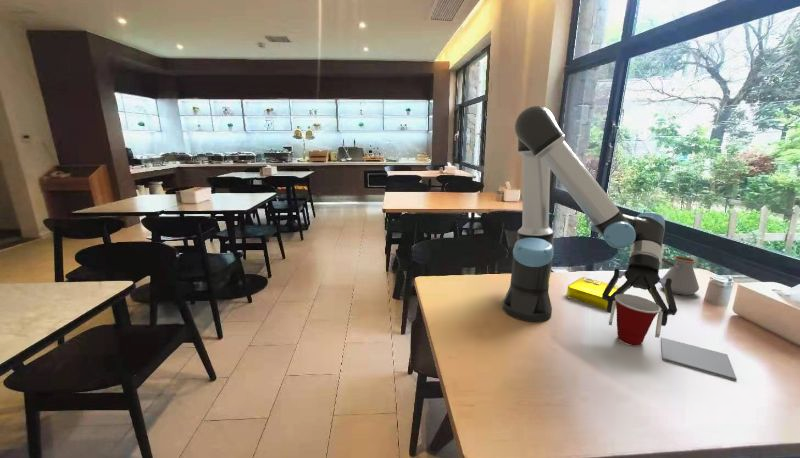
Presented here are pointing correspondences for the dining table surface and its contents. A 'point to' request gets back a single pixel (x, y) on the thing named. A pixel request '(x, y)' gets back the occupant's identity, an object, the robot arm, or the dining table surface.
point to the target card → (697, 358)
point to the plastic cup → (634, 317)
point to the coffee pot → (682, 276)
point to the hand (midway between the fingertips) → (633, 329)
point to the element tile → (589, 291)
